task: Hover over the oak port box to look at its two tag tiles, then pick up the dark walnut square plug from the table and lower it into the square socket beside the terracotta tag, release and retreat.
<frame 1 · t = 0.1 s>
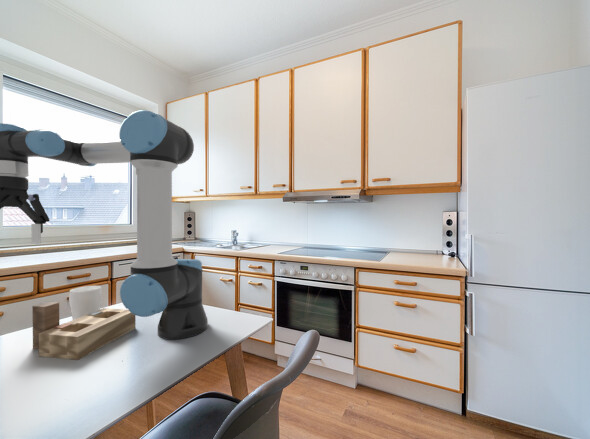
hand: (11, 245, 83), 28 cm above the table, fingers open, 13 cm apart
plug: (46, 346, 77), on the table
cup: (86, 323, 94), on the table
port box: (92, 340, 81), on the table
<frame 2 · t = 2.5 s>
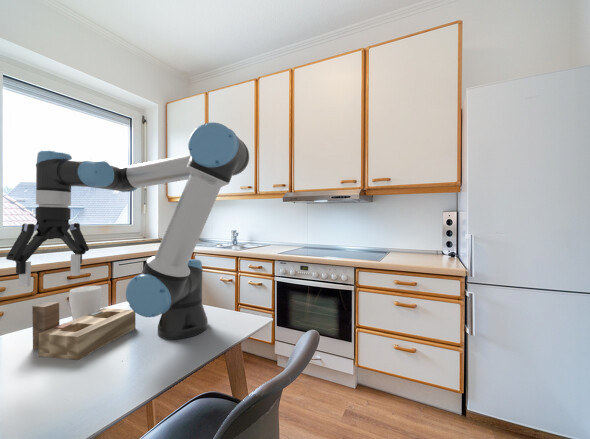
hand: (52, 280, 78), 19 cm above the table, fingers open, 13 cm apart
nothing on the table moved.
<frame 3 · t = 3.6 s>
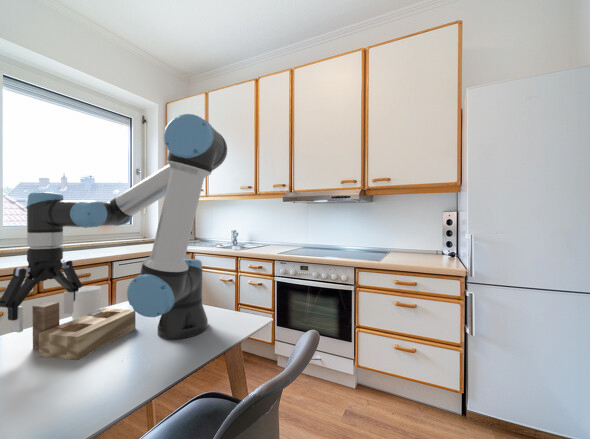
hand: (44, 321, 77), 7 cm above the table, fingers open, 13 cm apart
nothing on the table moved.
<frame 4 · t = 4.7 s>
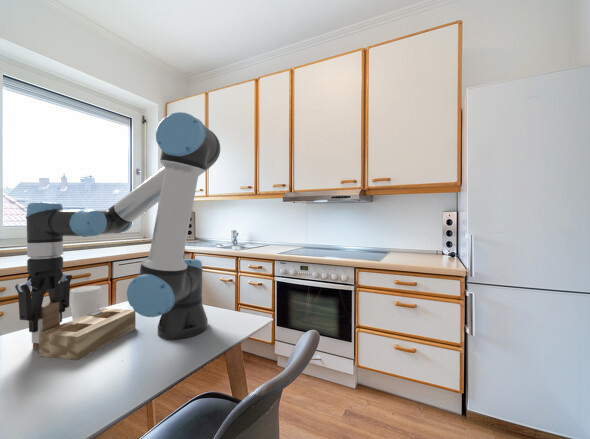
hand: (46, 338, 77), 2 cm above the table, fingers closed on plug, 4 cm apart
plug: (46, 346, 77), on the table, touching gripper
everything else where it was.
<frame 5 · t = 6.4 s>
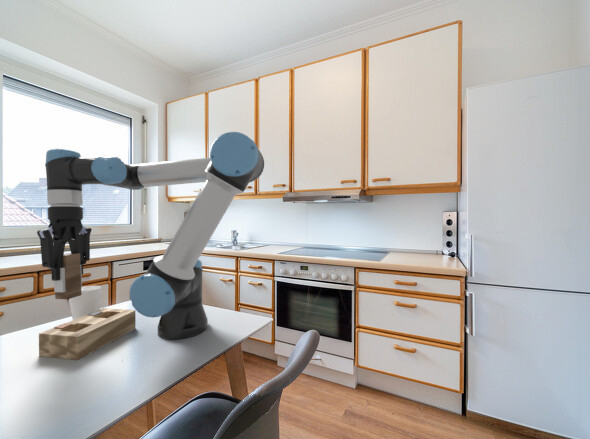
hand: (68, 289, 76), 17 cm above the table, fingers closed on plug, 4 cm apart
plug: (68, 297, 76), point 14 cm above the table, touching gripper
everything else where it was.
when the fingers open (6 cm above the table, at t = 8.4 s): plug drops 3 cm, resting on port box.
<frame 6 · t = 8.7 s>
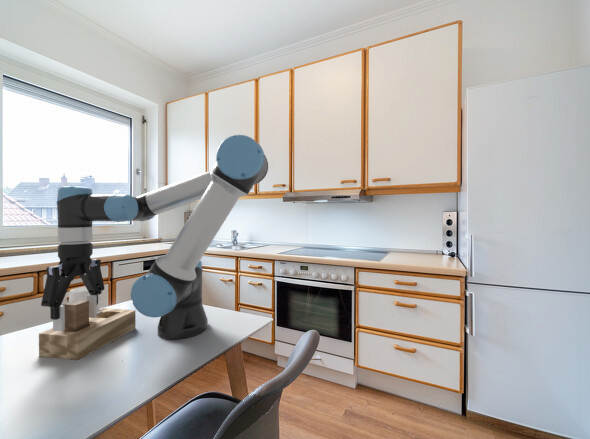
hand: (76, 323, 76), 7 cm above the table, fingers open, 9 cm apart
plug: (76, 345, 76), point 1 cm above the table, touching port box
everything else where it was.
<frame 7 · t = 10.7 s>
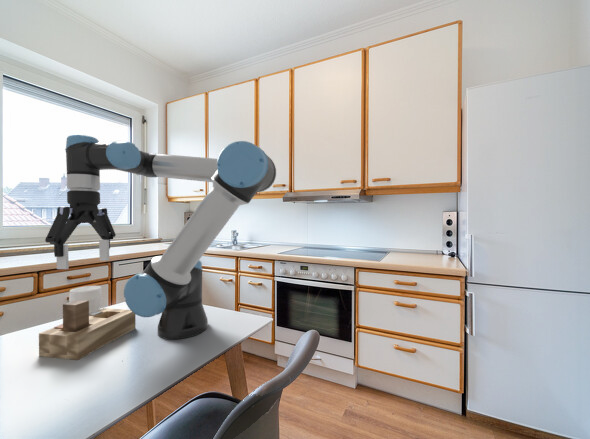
hand: (85, 264, 78), 23 cm above the table, fingers open, 13 cm apart
nothing on the table moved.
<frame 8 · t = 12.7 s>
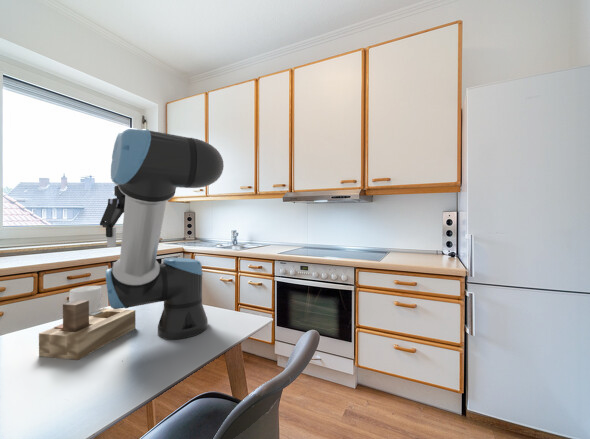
hand: (127, 244, 98), 27 cm above the table, fingers open, 13 cm apart
nothing on the table moved.
at the end: plug 0.0 cm from the target spot on the port box, point 1.0 cm above the port box's base; plug tilted 0°; the gripper is holding nothing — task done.
